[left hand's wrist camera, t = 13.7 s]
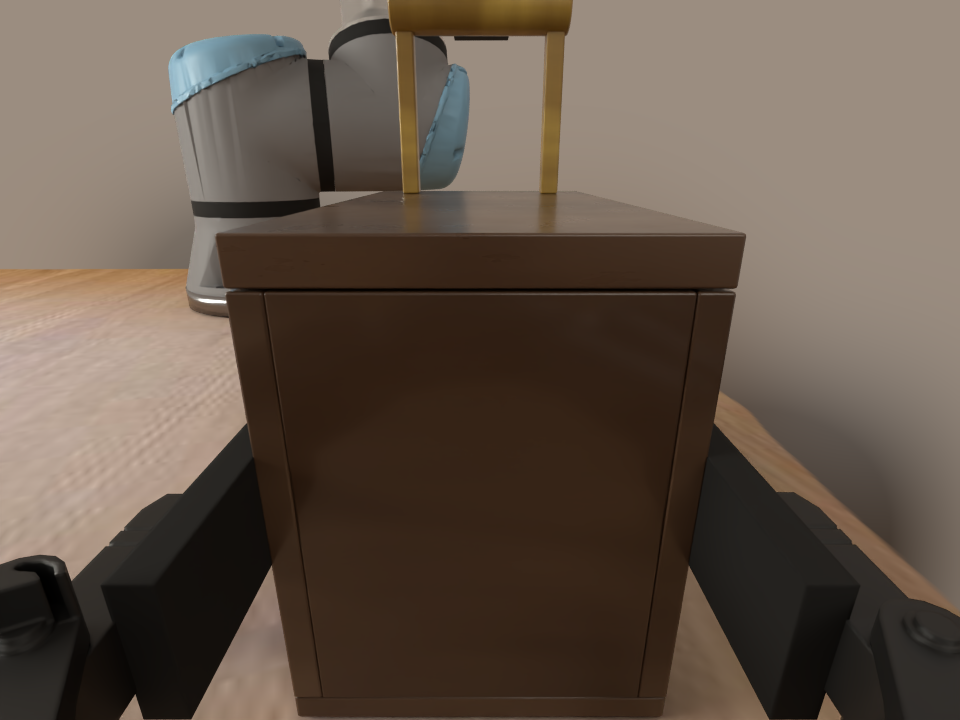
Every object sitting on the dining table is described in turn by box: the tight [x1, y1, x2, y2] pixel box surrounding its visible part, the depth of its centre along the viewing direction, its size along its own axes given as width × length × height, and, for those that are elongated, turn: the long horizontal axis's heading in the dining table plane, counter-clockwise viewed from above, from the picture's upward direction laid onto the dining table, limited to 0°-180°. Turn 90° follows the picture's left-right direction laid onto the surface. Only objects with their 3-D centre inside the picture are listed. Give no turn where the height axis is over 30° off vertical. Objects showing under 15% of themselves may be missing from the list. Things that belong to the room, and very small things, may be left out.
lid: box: [215, 0, 746, 289], centre depth 16 cm, size 17×9×9 cm, turn 0°
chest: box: [225, 289, 736, 717], centre depth 19 cm, size 16×9×11 cm, turn 0°
